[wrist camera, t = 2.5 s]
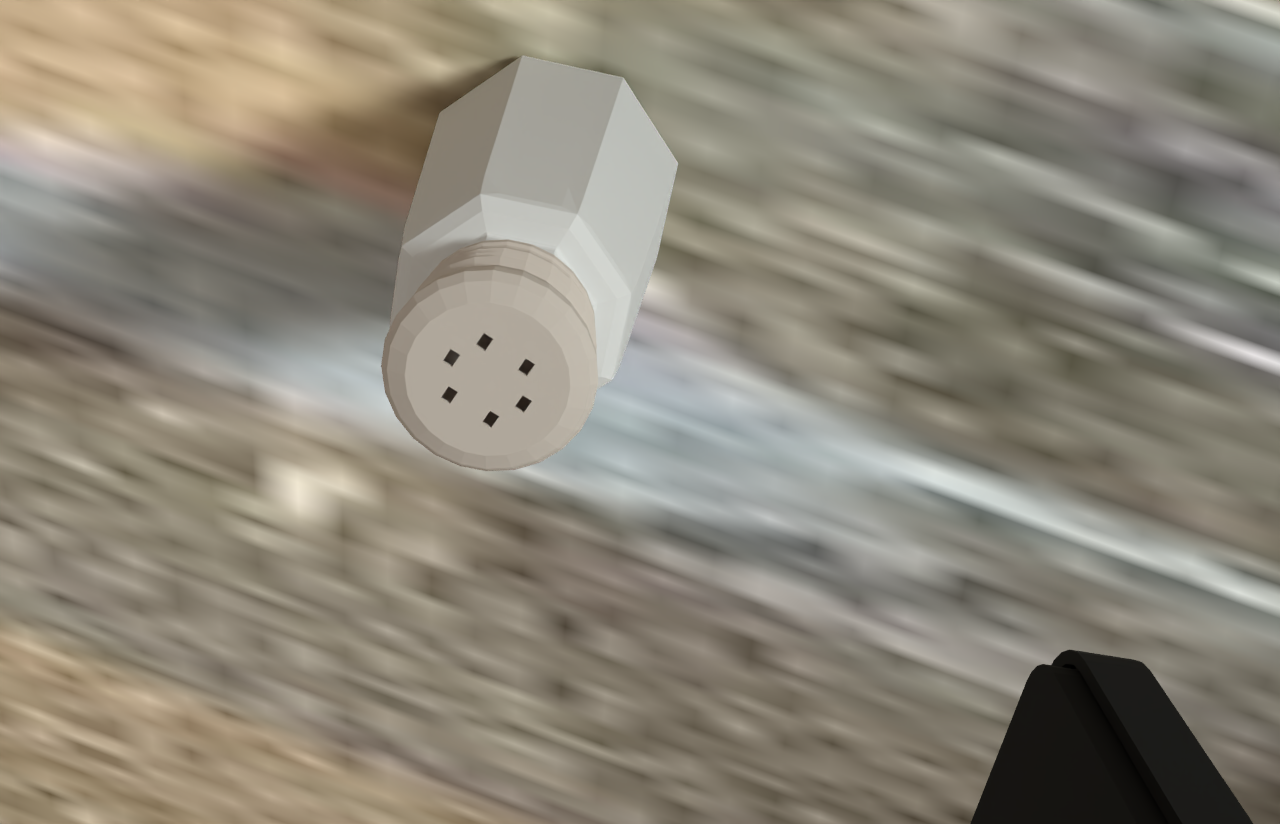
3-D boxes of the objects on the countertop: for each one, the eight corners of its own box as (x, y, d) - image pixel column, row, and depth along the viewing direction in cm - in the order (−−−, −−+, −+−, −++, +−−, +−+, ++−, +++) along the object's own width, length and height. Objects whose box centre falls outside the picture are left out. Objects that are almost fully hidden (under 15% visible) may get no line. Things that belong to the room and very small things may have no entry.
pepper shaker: (376, 217, 26) (201, 430, 16) (510, -4, 24) (411, 78, 14) (587, 352, 27) (551, 630, 17) (730, 152, 25) (786, 330, 15)
